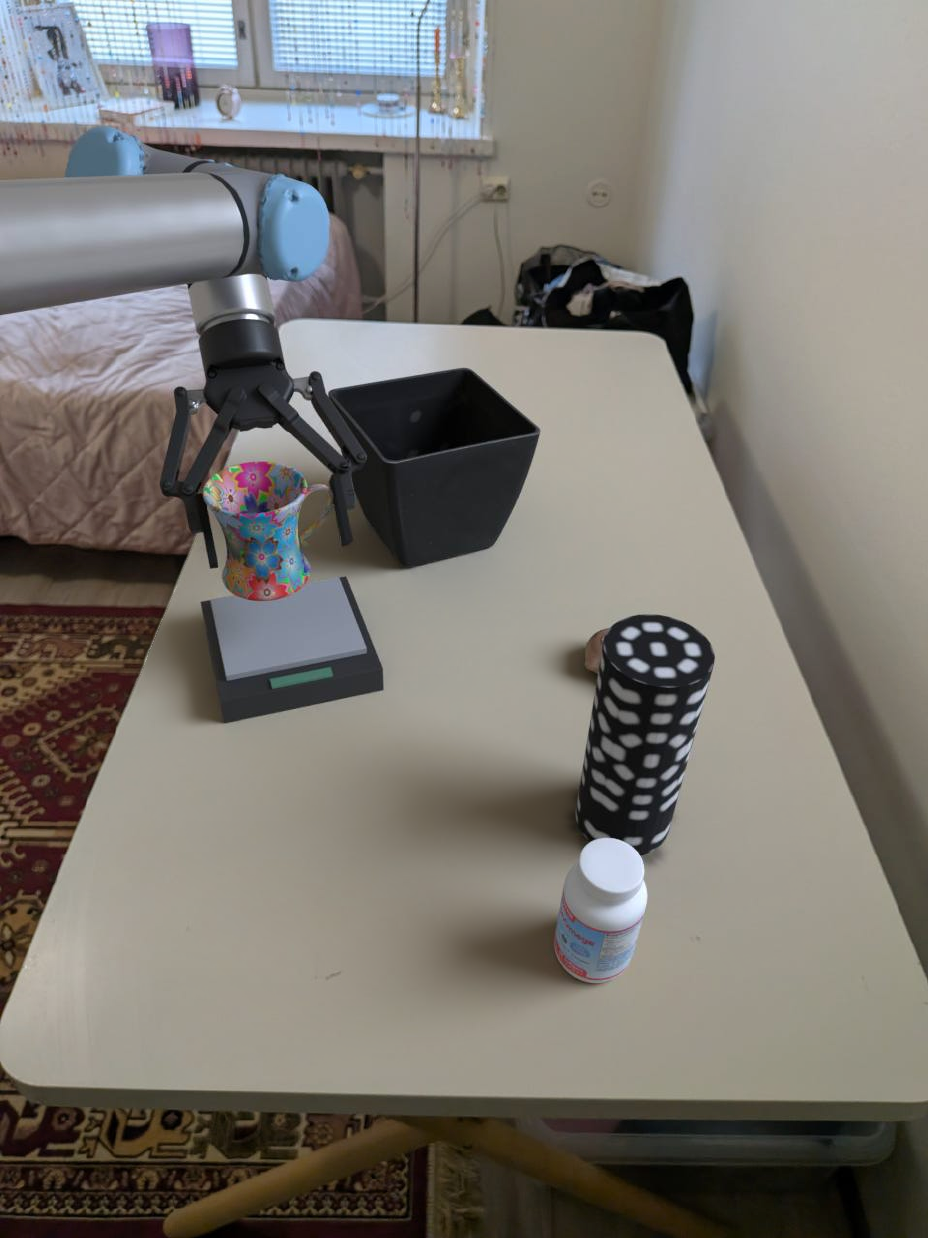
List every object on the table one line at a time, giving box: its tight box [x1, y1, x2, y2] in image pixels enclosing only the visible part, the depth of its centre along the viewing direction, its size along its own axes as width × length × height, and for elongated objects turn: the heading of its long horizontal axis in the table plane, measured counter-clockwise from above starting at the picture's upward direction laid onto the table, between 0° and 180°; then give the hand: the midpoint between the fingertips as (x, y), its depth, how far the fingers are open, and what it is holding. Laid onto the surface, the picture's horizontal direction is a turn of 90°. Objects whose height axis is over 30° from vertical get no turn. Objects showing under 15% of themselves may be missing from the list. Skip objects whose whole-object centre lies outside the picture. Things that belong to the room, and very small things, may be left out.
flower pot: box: [327, 367, 541, 568], centre depth 111 cm, size 19×19×17 cm
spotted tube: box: [575, 613, 716, 856], centre depth 76 cm, size 8×8×20 cm
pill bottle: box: [553, 838, 648, 984], centre depth 69 cm, size 6×6×11 cm
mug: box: [202, 461, 334, 601], centre depth 88 cm, size 12×9×11 cm
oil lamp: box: [584, 627, 610, 675], centre depth 96 cm, size 9×4×8 cm
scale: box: [200, 575, 385, 724], centre depth 96 cm, size 16×16×4 cm
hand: (282, 554), depth 86 cm, fingers closed on mug, 12 cm apart
